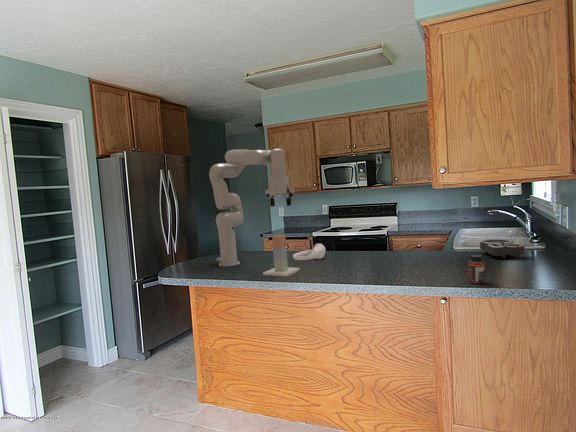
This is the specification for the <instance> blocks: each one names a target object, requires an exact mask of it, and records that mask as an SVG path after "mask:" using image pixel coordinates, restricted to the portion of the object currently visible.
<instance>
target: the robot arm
mask: <svg viewBox="0 0 576 432" xmlns="http://www.w3.org/2000/svg"><path fill="white" fill-rule="evenodd" d="M224 159H225V161H226V162H224V163H223V162H221V163H215V164H213V165H212V166H211V168H210V169H209V173H208V174H209V180H210V183H211V185H212V190H213V196H214V202H215V205H216V208H217V209H218V210H222V211H223V212H219V213H218V214H216V218H215V224H216V227H217V231H218V240H219V241H218V242H219V253H220V254H219V255H220V257H219V256H218V257H217V258H216V261H217V262H219V263H218V266H219V267H223V268H225V267H235V266H238V265H240V264H241V262H240V260H238V252H237V241H236V234H235V231H234V229H233V227H238V226H241V225H242V224H243V222H244V220H245V219H244V211H243V206H242V200H241V198H240V196H239V195H238V194H237V193H235V192H229V187H228V185H227V183H226V181H225V180H224V179H226V178H229V179H230V178H236V177H238V176H239V175H240V174H241V173H242V171H244V169H245V168H246V166H249V165H255V166H256V165H258V166H259V165H265V166H266V165H267V166H268V165H270V171H269V173H268V174H269V175H271V176H269V181H268V182H269V183H268V188H267V189H266V190H265V191H264V192H265V194H266V197H267V198H268V199H269V205H270V208H271V207H275V206H276V205H275V202H276V201H275V196H283V195H284V196H286V200H285V201H286V206H287V207H290V206H291V205H292V197H293V196H294V193H295V191H296V189H295V188H293V187H291V186H290V181H289V178H288V175H287V173H286V172H287V171H286V158H285V150H284V149H283V148H273V149H271V150H270V149H269V150H268V149H249V148H248V149H245V148H244V149H230V150H228V151H226V153H225V155H224ZM224 210H229V211H224Z"/></svg>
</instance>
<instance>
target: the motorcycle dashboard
mask: <svg viewBox="0 0 576 432" xmlns="http://www.w3.org/2000/svg"><path fill="white" fill-rule="evenodd" d="M479 248H480V250H481V251H486V253H487V254H488V255H492V256H494V257H501V258H503V260H506V258H507V256H510V257H511V256H512V257H515V256H517V257H519V256H522V255H523V254H525V245H524V244H522V243H514V242H513V241H512V240H510V239H505V238H490V239H485V240H482V241H481V242H479Z"/></svg>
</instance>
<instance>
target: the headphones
mask: <svg viewBox="0 0 576 432" xmlns="http://www.w3.org/2000/svg"><path fill="white" fill-rule="evenodd" d="M326 251H327V250H326V247H325V245H323V244H322V243H316V244H314V245H313V248H312V249H308V250H303V251H299V252H295V253H293V254H292V258H293V260H294V261H309V260H311V259H315V260H322V259H323V258H324V257H325V254H326Z"/></svg>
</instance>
